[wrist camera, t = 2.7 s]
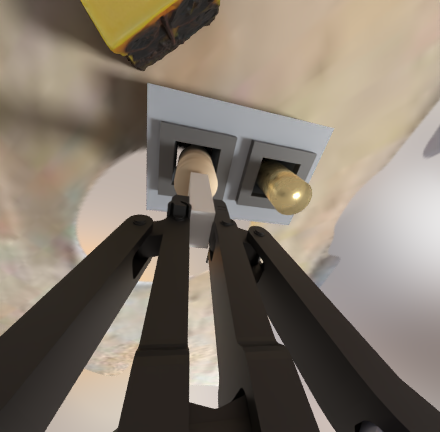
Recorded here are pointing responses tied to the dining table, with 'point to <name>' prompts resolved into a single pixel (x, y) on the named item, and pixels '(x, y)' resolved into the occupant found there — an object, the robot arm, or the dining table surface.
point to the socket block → (227, 149)
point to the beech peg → (194, 169)
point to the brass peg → (283, 187)
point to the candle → (149, 25)
